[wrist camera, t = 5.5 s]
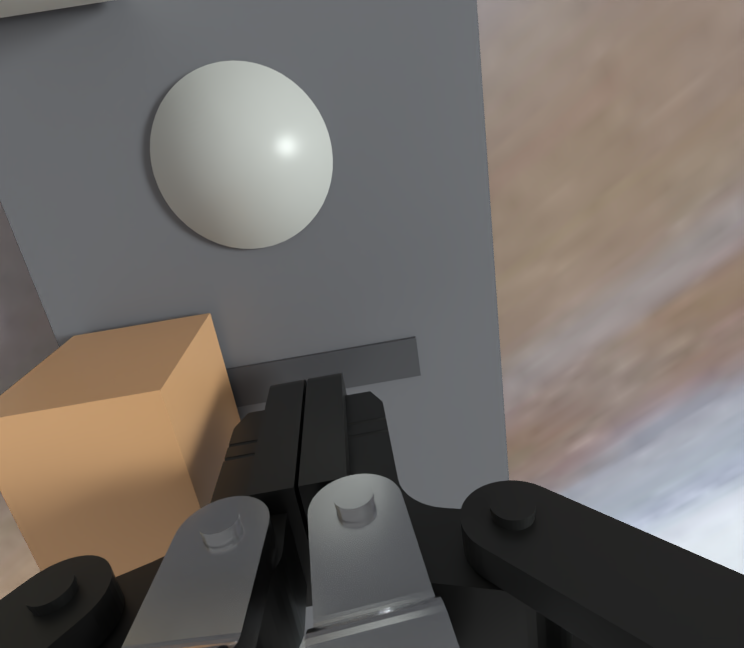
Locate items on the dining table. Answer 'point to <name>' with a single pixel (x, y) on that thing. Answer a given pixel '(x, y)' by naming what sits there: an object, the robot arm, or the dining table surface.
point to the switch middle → (116, 441)
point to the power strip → (273, 200)
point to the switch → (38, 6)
